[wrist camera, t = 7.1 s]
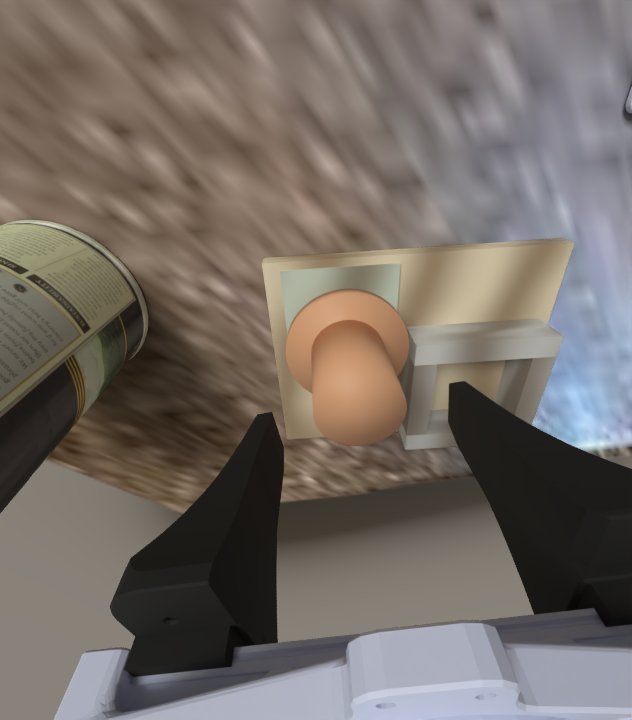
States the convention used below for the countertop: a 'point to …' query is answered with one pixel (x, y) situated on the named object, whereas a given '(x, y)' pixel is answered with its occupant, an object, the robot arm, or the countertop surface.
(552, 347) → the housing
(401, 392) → the end cover
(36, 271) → the coffee can
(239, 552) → the robot arm
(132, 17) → the countertop surface
